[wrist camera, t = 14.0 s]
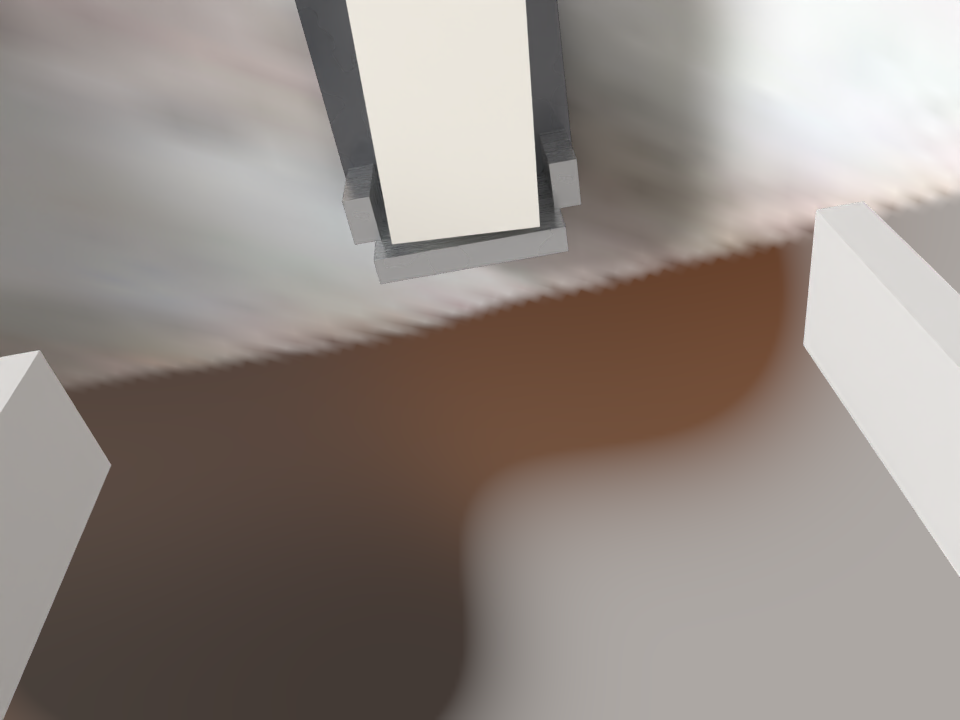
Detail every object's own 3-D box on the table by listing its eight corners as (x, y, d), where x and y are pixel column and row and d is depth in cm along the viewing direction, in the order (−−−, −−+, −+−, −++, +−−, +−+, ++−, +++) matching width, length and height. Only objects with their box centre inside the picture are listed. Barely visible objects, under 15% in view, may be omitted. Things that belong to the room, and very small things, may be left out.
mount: (572, 183, 34) (595, 246, 29) (362, 220, 34) (353, 288, 30) (531, -210, 26) (554, -205, 21) (257, -153, 26) (223, -136, 22)
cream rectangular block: (522, 156, 32) (539, 226, 27) (396, 171, 32) (392, 244, 27) (500, -139, 26) (517, -116, 21) (345, -120, 26) (328, -93, 21)
